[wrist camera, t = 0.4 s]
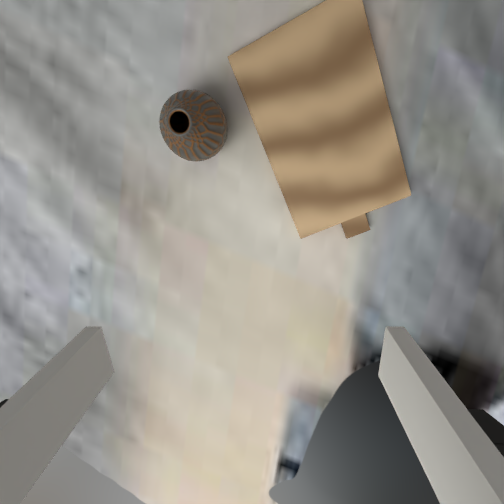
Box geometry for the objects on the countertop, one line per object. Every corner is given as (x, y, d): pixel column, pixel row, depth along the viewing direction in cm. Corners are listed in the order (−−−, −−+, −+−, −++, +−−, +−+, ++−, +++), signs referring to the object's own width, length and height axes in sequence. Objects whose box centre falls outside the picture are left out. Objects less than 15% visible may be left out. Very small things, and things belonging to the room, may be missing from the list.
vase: (242, 127, 32) (232, 118, 23) (207, 172, 34) (186, 178, 25) (197, 83, 30) (170, 57, 22) (163, 132, 32) (126, 125, 24)
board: (229, 60, 29) (227, 56, 28) (353, -11, 26) (357, -18, 25) (306, 251, 36) (307, 254, 35) (411, 211, 34) (415, 213, 32)
